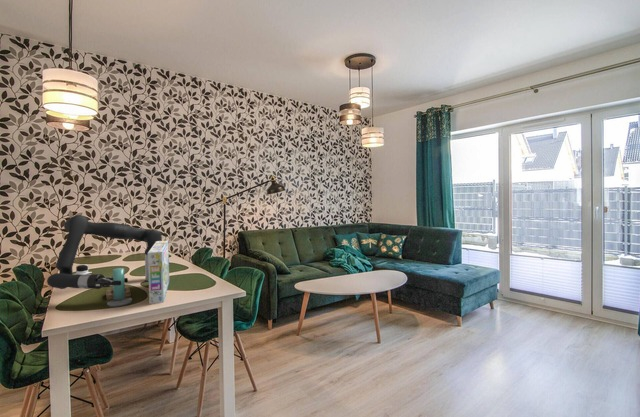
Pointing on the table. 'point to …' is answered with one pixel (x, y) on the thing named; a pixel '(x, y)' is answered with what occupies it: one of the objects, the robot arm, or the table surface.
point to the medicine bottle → (82, 270)
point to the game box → (158, 272)
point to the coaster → (119, 302)
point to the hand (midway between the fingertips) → (124, 281)
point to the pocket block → (110, 293)
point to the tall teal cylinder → (119, 289)
